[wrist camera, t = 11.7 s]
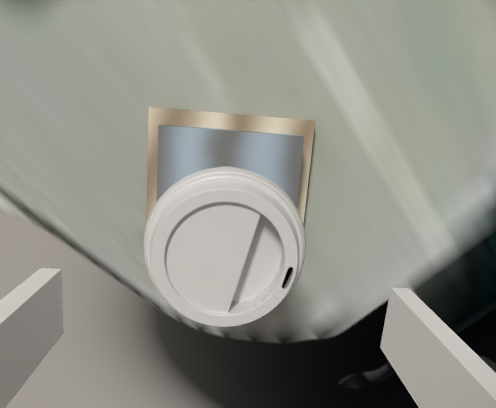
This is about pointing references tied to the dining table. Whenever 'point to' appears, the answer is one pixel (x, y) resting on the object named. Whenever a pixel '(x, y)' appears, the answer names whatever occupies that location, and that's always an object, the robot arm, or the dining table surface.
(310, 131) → the pedestal
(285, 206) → the coffee cup
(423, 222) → the dining table surface
